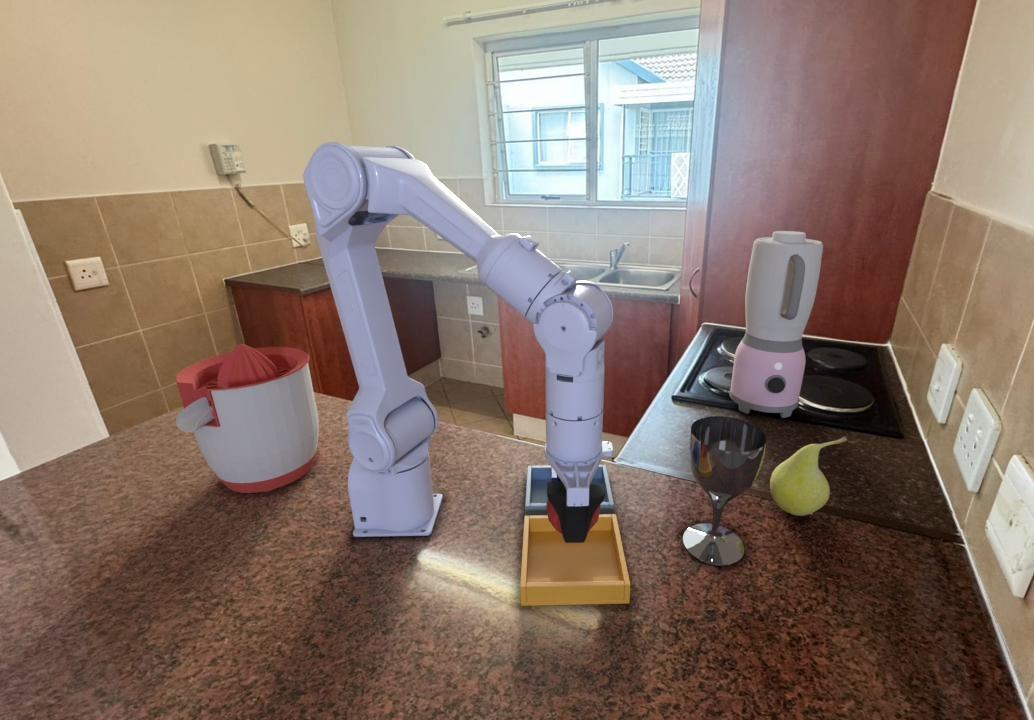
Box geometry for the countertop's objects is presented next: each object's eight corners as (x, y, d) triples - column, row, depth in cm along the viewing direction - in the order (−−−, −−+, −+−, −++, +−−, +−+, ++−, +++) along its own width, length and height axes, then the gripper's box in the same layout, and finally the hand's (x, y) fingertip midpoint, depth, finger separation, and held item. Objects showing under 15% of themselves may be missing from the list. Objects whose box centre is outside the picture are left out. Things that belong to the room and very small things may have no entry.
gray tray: (525, 522, 63) (525, 506, 62) (527, 480, 72) (527, 465, 71) (613, 521, 64) (614, 504, 63) (605, 479, 72) (606, 464, 71)
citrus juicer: (169, 496, 68) (123, 359, 61) (278, 437, 84) (252, 322, 76) (249, 524, 63) (210, 378, 56) (351, 456, 78) (330, 334, 71)
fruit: (770, 488, 70) (784, 411, 66) (830, 505, 67) (848, 425, 62) (762, 514, 65) (776, 433, 61) (826, 534, 61) (846, 449, 57)
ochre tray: (520, 606, 51) (519, 587, 50) (524, 532, 62) (524, 515, 61) (629, 603, 51) (630, 584, 51) (615, 530, 62) (616, 513, 61)
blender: (724, 388, 102) (745, 228, 91) (787, 393, 100) (816, 229, 89) (737, 425, 88) (763, 238, 76) (810, 430, 86) (849, 240, 74)
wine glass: (748, 529, 62) (765, 422, 57) (748, 575, 55) (768, 457, 50) (682, 516, 65) (693, 411, 59) (675, 558, 57) (687, 444, 52)
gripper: (625, 444, 43) (618, 569, 48) (606, 379, 56) (602, 481, 61) (543, 445, 43) (544, 570, 48) (543, 379, 56) (545, 481, 61)
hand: (573, 520), depth 54 cm, fingers closed on onion, 6 cm apart
